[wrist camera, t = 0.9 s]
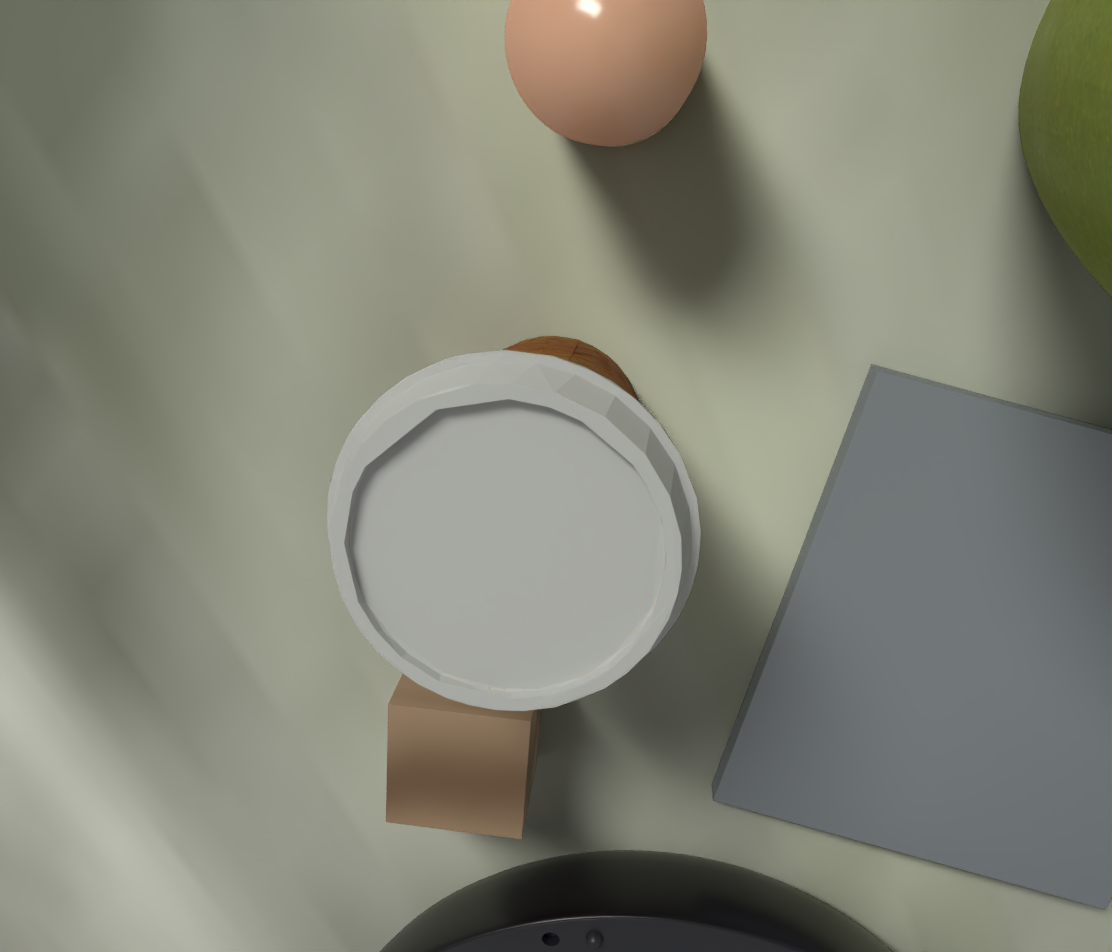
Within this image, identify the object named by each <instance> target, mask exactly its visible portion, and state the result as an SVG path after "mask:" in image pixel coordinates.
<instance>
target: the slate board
mask: <svg viewBox="0 0 1112 952" xmlns="http://www.w3.org/2000/svg"><path fill="white" fill-rule="evenodd" d="M712 793H713V801H717V802H720V803H724V804H727V805H731V806H735V807H738V808H742V809H745V810H749V811H753V812H756V813H760V814H763V815H767V816H771V817H774V818H778V819H781V820H785V821H789V822H792V823H796V824H799V825H803V826H807V827H810V828H814V829H817V830H821V831H825V832H828V833H832V834H835V835H839V836H843V837H846V838H850V839H853V840H857V841H861V842H864V843H868V844H871V845H875V846H879V847H882V848H886V849H889V850H893V851H897V852H900V853H904V854H907V855H911V856H915V857H918V858H922V859H925V860H929V861H933V862H936V863H940V864H943V865H947V866H951V867H954V868H958V869H961V870H965V871H969V872H972V873H976V874H979V875H983V876H987V877H990V878H994V879H997V880H1001V881H1005V882H1008V883H1012V884H1015V885H1019V886H1023V887H1026V888H1030V889H1033V890H1037V891H1041V892H1044V893H1048V894H1051V895H1055V896H1059V897H1062V898H1066V899H1069V900H1073V901H1077V902H1080V903H1084V904H1087V905H1091V906H1095V907H1098V908H1102V909H1105V908H1106V906H1107V905H1108V903H1109V901H1110V900H1111V898H1112V430H1110V429H1106V428H1103V427H1099V426H1095V425H1092V424H1088V423H1084V422H1081V421H1077V420H1074V419H1070V418H1066V417H1063V416H1059V415H1055V414H1052V413H1048V412H1044V411H1041V410H1037V409H1033V408H1030V407H1026V406H1022V405H1019V404H1015V403H1011V402H1008V401H1004V400H1000V399H997V398H993V397H989V396H986V395H982V394H978V393H975V392H971V391H967V390H964V389H960V388H956V387H953V386H949V385H945V384H942V383H938V382H934V381H931V380H927V379H923V378H920V377H916V376H912V375H909V374H905V373H901V372H898V371H894V370H890V369H887V368H883V367H879V366H876V365H872V364H871V367H870V369H869V372H868V375H867V377H866V380H865V383H864V385H863V388H862V390H861V393H860V396H859V398H858V401H857V404H856V406H855V409H854V412H853V414H852V417H851V419H850V422H849V425H848V427H847V430H846V433H845V435H844V438H843V440H842V443H841V446H840V448H839V451H838V454H837V456H836V459H835V462H834V464H833V467H832V469H831V472H830V475H829V477H828V480H827V483H826V485H825V488H824V490H823V493H822V496H821V498H820V501H819V504H818V506H817V509H816V512H815V514H814V517H813V519H812V522H811V525H810V527H809V530H808V533H807V535H806V538H805V540H804V543H803V546H802V548H801V551H800V554H799V556H798V559H797V562H796V564H795V567H794V569H793V572H792V575H791V577H790V580H789V583H788V585H787V588H786V590H785V593H784V596H783V598H782V601H781V604H780V606H779V609H778V612H777V614H776V617H775V619H774V622H773V625H772V627H771V630H770V633H769V635H768V638H767V640H766V643H765V646H764V648H763V651H762V654H761V656H760V659H759V662H758V664H757V667H756V669H755V672H754V675H753V677H752V680H751V683H750V685H749V688H748V690H747V693H746V696H745V698H744V701H743V704H742V706H741V709H740V712H739V714H738V717H737V719H736V722H735V725H734V727H733V730H732V733H731V735H730V738H729V740H728V743H727V746H726V748H725V751H724V754H723V756H722V759H721V762H720V764H719V767H718V769H717V772H716V775H715V777H714V780H713V783H712Z"/></svg>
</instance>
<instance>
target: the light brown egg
mask: <svg viewBox="0 0 1112 952" xmlns="http://www.w3.org/2000/svg"><path fill="white" fill-rule="evenodd" d="M706 41H707V20H706V13H705V6H704V3H703V0H511V1H510V4H509V8H508V12H507V18H506V25H505V49H506V57H507V62H508V67H509V70H510V73H511V76H512V79H513V82H514V84H515V86H516V88H517V91H518V93H519V95H520V96H521V98H522V99H523V101H524V102H525V104H526V105H527V107H528V108H529V109H530V110H531V111H532V113H533V114H534V115H535V116H536V117H537V118H538V119H539V120H540V121H541V122H542V123H544V124H545V125H546V126H547V127H549V128H550V129H552V130H553V131H555V132H556V133H558V134H560V135H562V136H564V137H566V138H569V139H571V140H574V141H577V142H581V143H586V144H591V145H598V146H608V147H620V146H627V145H632V144H636V143H638V142H641V141H644V140H646V139H648V138H650V137H652V136H653V135H655V134H656V133H658V132H659V131H661V130H662V129H663V128H664V127H665V126H666V125H667V124H668V123H670V122H671V120H672V119H673V118H674V117H675V116H676V114H677V113H678V112H679V110H680V108H681V107H682V105H683V104H684V102H685V101H686V99H687V97H688V96H689V94H690V93H691V91H692V89H693V87H694V85H695V83H696V81H697V79H698V76H699V73H700V70H701V67H702V64H703V60H704V55H705V51H706Z"/></svg>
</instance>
